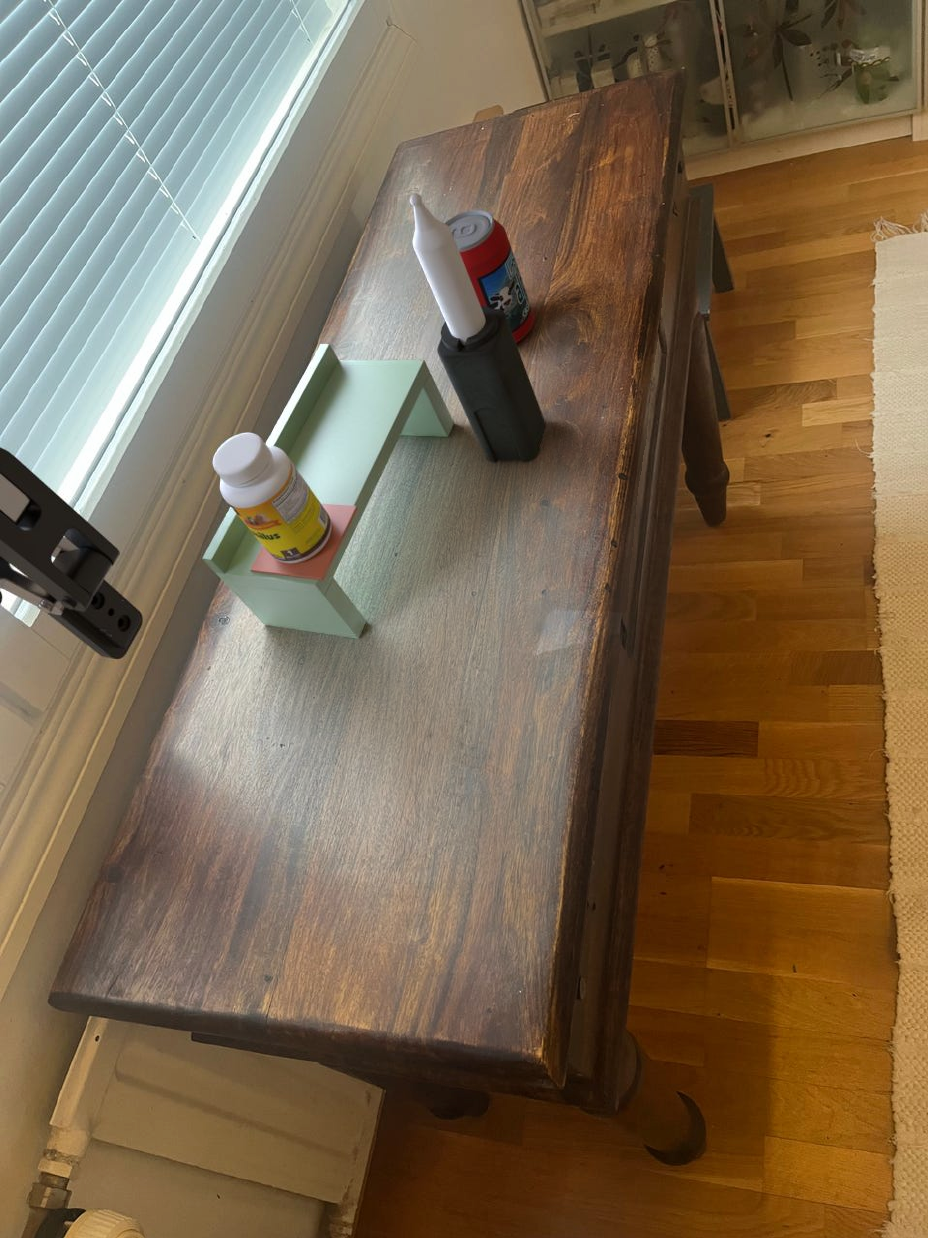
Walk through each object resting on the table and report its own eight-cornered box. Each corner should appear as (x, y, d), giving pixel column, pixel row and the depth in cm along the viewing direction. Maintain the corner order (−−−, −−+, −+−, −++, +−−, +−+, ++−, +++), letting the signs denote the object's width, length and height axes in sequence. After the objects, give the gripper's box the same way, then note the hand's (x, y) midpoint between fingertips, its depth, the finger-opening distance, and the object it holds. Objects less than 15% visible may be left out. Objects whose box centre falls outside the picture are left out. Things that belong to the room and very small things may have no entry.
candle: (548, 418, 84) (456, 165, 64) (536, 462, 81) (437, 213, 62) (496, 421, 86) (391, 176, 66) (483, 463, 83) (370, 223, 64)
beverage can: (532, 351, 89) (495, 245, 80) (466, 361, 92) (423, 260, 82) (539, 303, 93) (505, 197, 83) (476, 314, 95) (435, 212, 86)
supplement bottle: (258, 551, 75) (187, 468, 66) (304, 501, 76) (239, 414, 68) (302, 577, 71) (233, 493, 63) (348, 525, 73) (286, 436, 65)
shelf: (363, 639, 77) (309, 571, 69) (263, 624, 82) (201, 558, 74) (459, 422, 87) (421, 341, 79) (365, 420, 92) (320, 343, 84)
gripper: (-528, 423, 28) (-101, 679, 41) (-280, 437, 22) (134, 734, 35) (-353, 258, 32) (-8, 542, 44) (-93, 228, 25) (223, 570, 38)
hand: (54, 626), depth 39 cm, fingers open, 8 cm apart
